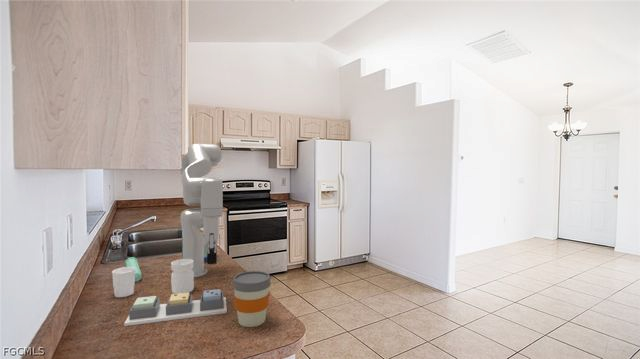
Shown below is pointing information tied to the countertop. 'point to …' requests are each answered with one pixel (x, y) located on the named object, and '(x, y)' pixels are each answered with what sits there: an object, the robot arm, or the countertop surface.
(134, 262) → the container
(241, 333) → the countertop surface
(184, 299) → the button
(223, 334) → the countertop surface
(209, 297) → the button
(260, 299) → the reusable coffee cup
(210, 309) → the button panel
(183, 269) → the vase
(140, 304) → the button
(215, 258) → the robot arm
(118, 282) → the white cup
